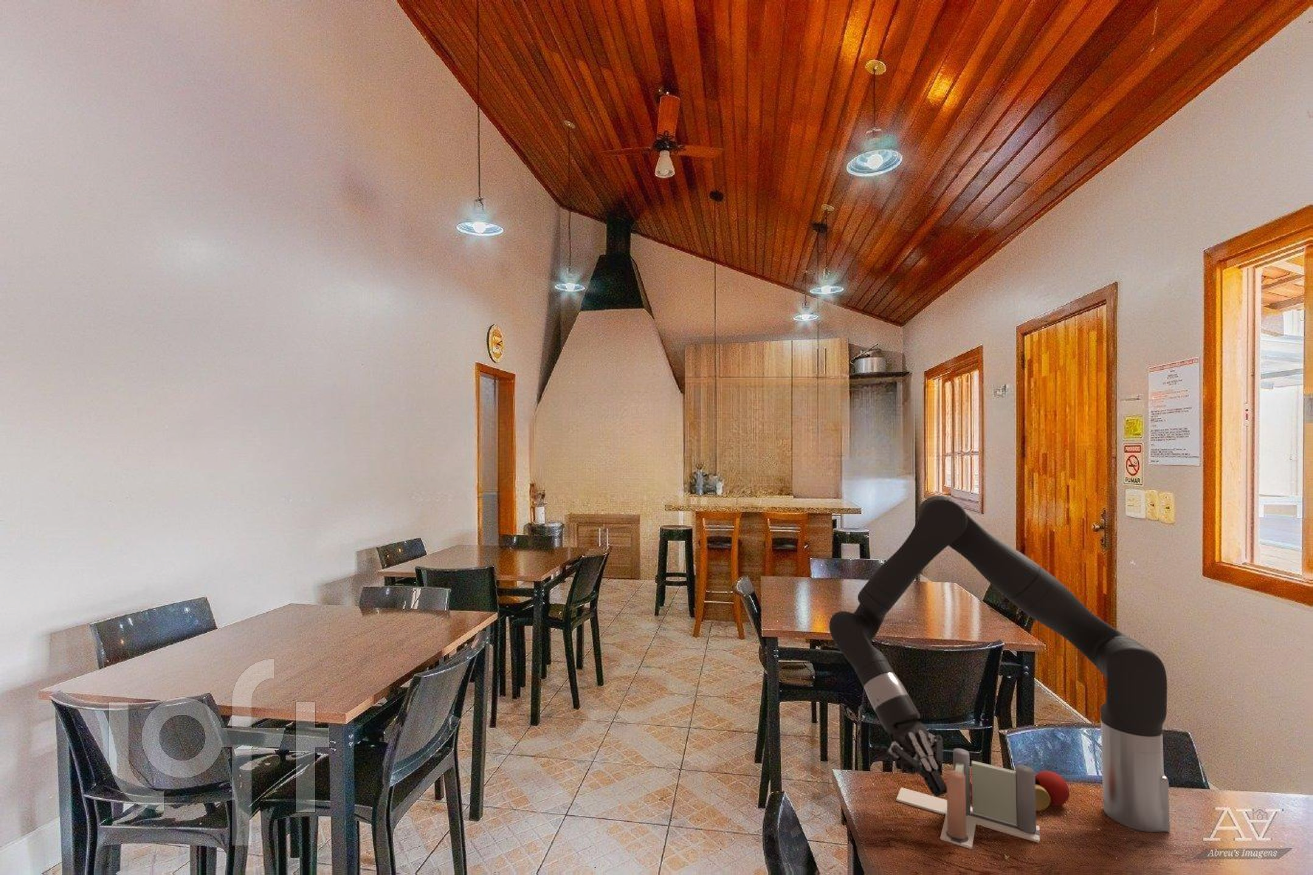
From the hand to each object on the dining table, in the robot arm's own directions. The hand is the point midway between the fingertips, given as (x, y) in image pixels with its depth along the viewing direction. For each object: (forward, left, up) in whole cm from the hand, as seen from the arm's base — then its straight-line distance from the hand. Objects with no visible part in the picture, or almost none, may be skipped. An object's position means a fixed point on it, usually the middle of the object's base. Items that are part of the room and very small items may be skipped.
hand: (942, 794), depth 109 cm
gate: (-3, -2, -6) cm, 7 cm away
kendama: (-15, -17, -7) cm, 23 cm away
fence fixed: (-9, -7, -6) cm, 13 cm away
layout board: (-4, -3, -7) cm, 8 cm away
